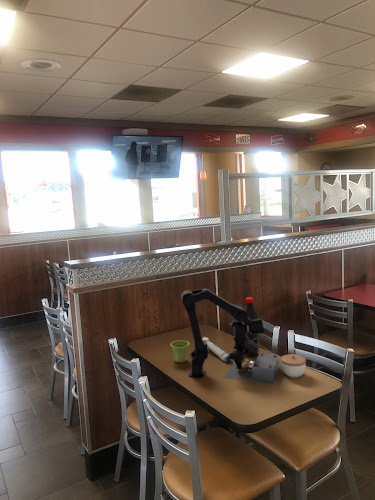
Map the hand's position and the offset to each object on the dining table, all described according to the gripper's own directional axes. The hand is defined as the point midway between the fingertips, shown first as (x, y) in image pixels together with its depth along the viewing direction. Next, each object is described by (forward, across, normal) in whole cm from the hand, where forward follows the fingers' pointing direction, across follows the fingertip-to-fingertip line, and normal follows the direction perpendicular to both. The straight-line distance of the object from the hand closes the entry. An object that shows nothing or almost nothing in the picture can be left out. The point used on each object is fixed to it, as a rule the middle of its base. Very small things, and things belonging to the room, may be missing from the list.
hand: (241, 367), depth 181 cm
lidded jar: (+2, +3, -23) cm, 23 cm away
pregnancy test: (+3, +16, +18) cm, 25 cm away
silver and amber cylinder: (+1, 0, -3) cm, 3 cm away
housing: (+2, 0, -12) cm, 12 cm away
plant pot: (+2, +4, +32) cm, 33 cm away
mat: (+2, 0, -5) cm, 6 cm away
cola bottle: (+2, +21, 0) cm, 21 cm away
